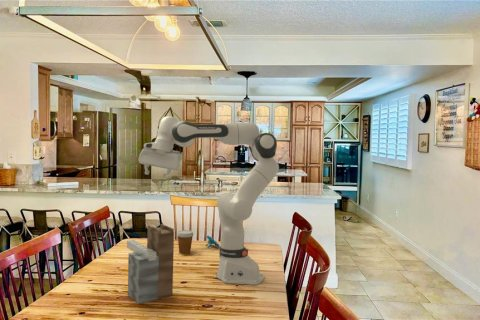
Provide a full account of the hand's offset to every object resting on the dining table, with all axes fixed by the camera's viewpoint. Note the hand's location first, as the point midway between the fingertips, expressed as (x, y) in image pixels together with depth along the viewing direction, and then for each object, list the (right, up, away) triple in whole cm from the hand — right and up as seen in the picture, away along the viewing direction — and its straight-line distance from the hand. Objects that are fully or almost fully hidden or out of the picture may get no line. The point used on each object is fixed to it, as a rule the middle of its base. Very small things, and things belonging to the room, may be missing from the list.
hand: (155, 176), depth 175 cm
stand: (+4, -47, -25) cm, 54 cm away
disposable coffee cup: (+8, -46, +36) cm, 59 cm away
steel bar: (0, -30, -26) cm, 40 cm away
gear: (+23, -46, +49) cm, 71 cm away
